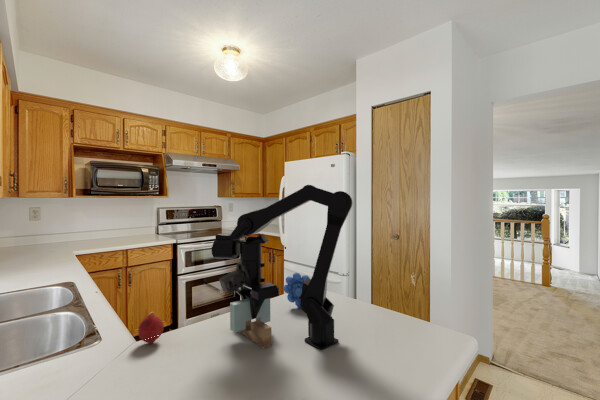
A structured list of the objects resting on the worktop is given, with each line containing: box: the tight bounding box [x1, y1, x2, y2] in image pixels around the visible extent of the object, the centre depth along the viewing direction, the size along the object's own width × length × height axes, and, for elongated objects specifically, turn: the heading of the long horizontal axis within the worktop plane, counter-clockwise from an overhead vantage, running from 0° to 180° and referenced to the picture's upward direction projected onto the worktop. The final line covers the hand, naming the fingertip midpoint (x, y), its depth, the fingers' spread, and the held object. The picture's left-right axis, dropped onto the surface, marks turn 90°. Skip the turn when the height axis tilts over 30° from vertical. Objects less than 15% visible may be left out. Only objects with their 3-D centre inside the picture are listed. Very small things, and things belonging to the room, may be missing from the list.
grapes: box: [283, 272, 311, 309], centre depth 99 cm, size 12×7×12 cm, turn 85°
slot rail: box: [239, 320, 272, 349], centre depth 79 cm, size 16×2×4 cm, turn 39°
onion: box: [137, 311, 165, 344], centre depth 75 cm, size 6×6×8 cm
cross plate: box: [229, 298, 271, 333], centre depth 79 cm, size 2×11×7 cm, turn 129°
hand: (251, 316), depth 79 cm, fingers closed on cross plate, 2 cm apart
